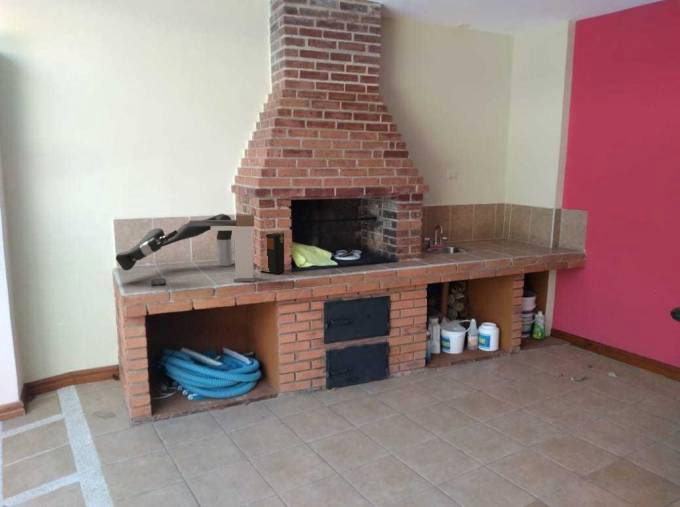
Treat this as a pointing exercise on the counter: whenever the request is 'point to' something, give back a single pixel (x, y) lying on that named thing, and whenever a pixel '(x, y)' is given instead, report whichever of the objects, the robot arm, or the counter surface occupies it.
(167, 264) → the counter surface
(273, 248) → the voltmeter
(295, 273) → the counter surface
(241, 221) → the carriage
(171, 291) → the counter surface
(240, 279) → the shelf stand
